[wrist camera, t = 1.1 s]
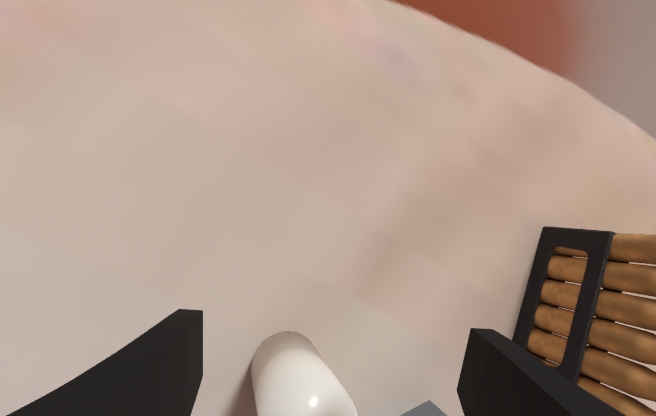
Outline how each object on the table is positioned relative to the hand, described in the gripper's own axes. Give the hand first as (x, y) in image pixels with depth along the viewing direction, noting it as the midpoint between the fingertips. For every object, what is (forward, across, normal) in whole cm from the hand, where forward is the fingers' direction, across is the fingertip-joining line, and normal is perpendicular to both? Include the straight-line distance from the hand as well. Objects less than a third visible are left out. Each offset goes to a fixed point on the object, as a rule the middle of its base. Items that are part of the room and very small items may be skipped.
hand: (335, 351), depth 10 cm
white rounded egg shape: (+10, +2, +9) cm, 13 cm away
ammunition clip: (+15, -16, +6) cm, 23 cm away
